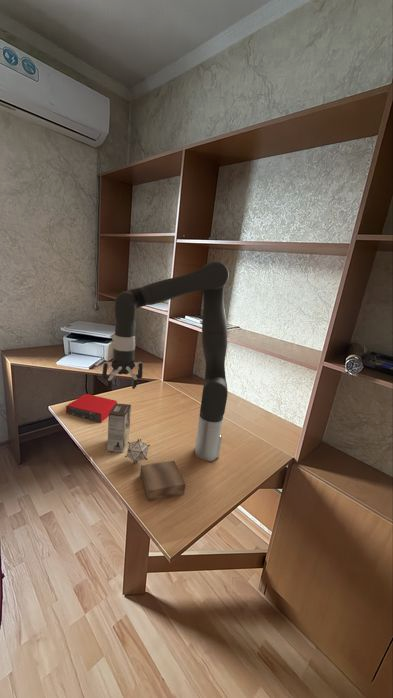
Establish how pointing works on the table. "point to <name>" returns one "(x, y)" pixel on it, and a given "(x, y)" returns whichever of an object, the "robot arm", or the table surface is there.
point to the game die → (137, 451)
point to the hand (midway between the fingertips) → (121, 388)
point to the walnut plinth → (162, 480)
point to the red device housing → (91, 407)
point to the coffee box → (118, 427)
